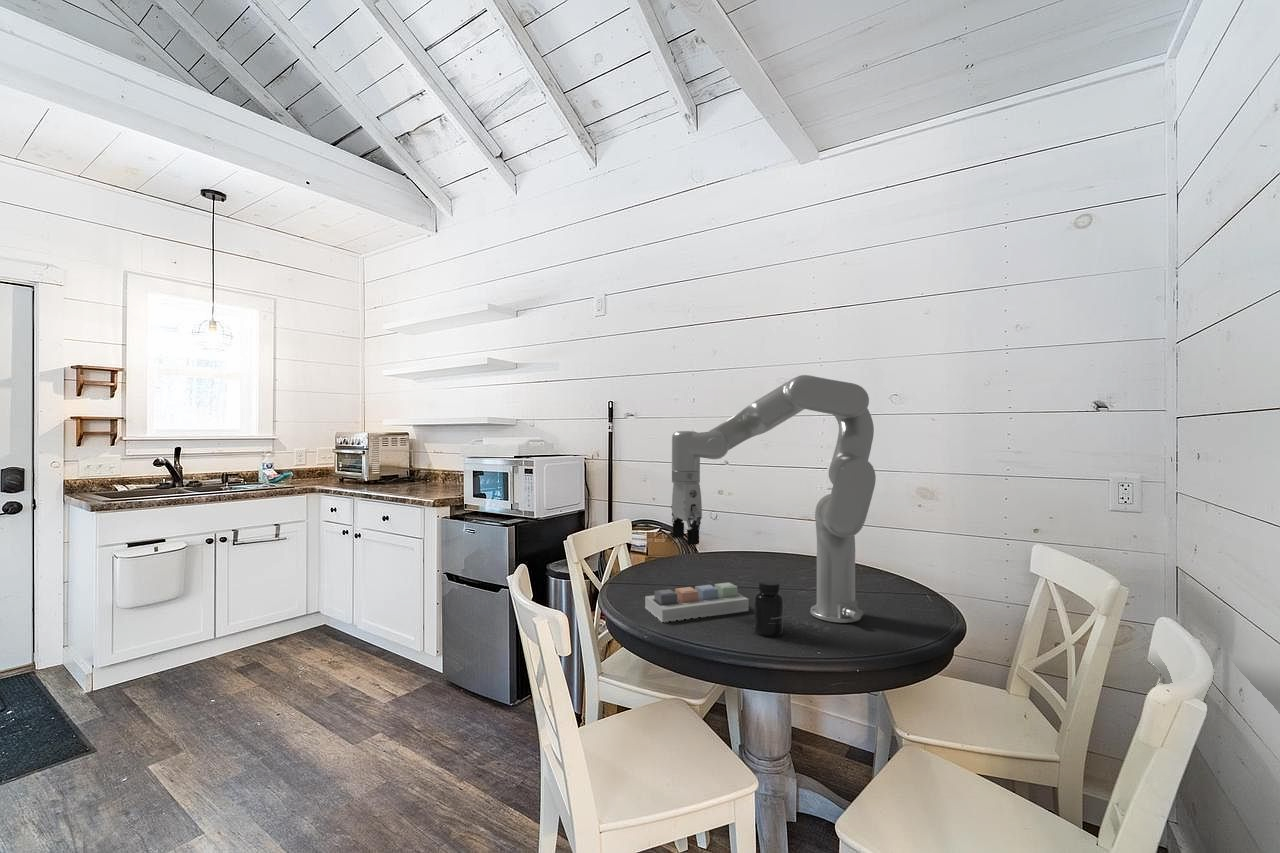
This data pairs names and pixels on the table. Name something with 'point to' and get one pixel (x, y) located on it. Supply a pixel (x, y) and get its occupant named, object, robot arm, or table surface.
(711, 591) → the key slate
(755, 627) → the supplement bottle
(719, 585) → the key sage
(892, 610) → the table surface
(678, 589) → the key terracotta
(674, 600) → the key charcoal
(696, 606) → the keypad
